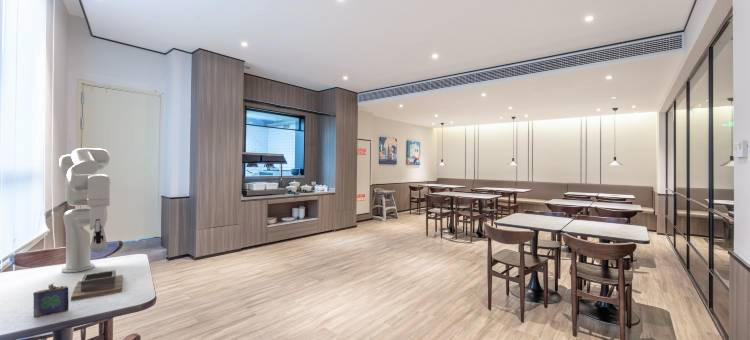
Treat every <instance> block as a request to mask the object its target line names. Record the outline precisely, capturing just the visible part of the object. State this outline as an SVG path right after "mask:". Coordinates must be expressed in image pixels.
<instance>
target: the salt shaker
mask: <svg viewBox="0 0 750 340" xmlns="http://www.w3.org/2000/svg"><path fill="white" fill-rule="evenodd" d="M100 229H101V227H100ZM92 232H93V233H92V238H91V240H90V251H92V253H101V252H105V251H107V250H106V249H107V247H108V242H107V238H106V234H105V233H106V232H105V227H104V228H103V235H102V236H103V241H102V238H101V243H100V244H96V239H95V242H94V231H92Z"/></svg>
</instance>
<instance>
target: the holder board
mask: <svg viewBox="0 0 750 340" xmlns="http://www.w3.org/2000/svg"><path fill="white" fill-rule="evenodd" d="M116 273H117V272H116V269H115V270H109V271H108V270H107V271H102V272H101V271H100V272H94V273H93V272H92V273H87V274H83V277H82V279H81V280H78V281H77V283H76V286H75V287H74V290H73V292H72V294H71V296H70V301H71V302H72V301H76V300H82V299H87V298H93V297H100V296H104V295H106V296H107V295H110V294H115V293H117V294H118V293H121V292H122V287H123V279H124V275H123V274H119V275H118V274H116Z"/></svg>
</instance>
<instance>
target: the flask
mask: <svg viewBox="0 0 750 340" xmlns="http://www.w3.org/2000/svg"><path fill="white" fill-rule="evenodd" d="M69 307H70V306H69V287H68V286H67V285H66V286H65V285H61V286H55V285H54V283H51V284H48V289H42V290H36V291H34V292H33V318H40V316H41V317H44V316H45V315H46V316H50V315H54V314H55V315H56V314H60V313H65V312H68V311H69ZM46 316H45V317H46Z"/></svg>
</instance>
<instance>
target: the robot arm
mask: <svg viewBox="0 0 750 340" xmlns="http://www.w3.org/2000/svg"><path fill="white" fill-rule="evenodd" d="M109 163H110V154H109V151H108V150H106V149H103V148H90V147H88V148H87V147H82V148H76V149H74V150H73V151H72V152H71V154H64V155H61V156H60V158H59V164H58V165H59V169H60V171H61V173H62V175H63V177H64V179H65V180H64V181H65V195H66V196H65V199H66V203H67V205H68V206H69V207H81V208H72V209H68V210H67V211H65V212H64V213H63V216H62V217H63V223H64V229H65V230H64V231H65V266H64V267H63V268H62V269H61V272H62V273H77V272H78V273H79V272H83V271H88V270H90V269H93V268H94V267H95V264H94V263H91V248H90V246H91V234H90V232H89V231H88V230H87V229H85V227H89V230H90V231H91V230H92V231H93V232H94V242H95V239H96V244H100V243H101V238H102V241H103V236H102V235H103V228H104V229H105V227H106V222H107V221H108V207H110V203H111V202H110V201H111V200H110V199H111V198H110V195H111V194H110V192H111V191H110V186H111V178H110V176H108V175H106V174H103V173H97V172H98V171H102V170H104V168H106V166H107V165H108V164H109ZM83 207H84V208H83ZM100 227H101V229H100Z"/></svg>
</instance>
